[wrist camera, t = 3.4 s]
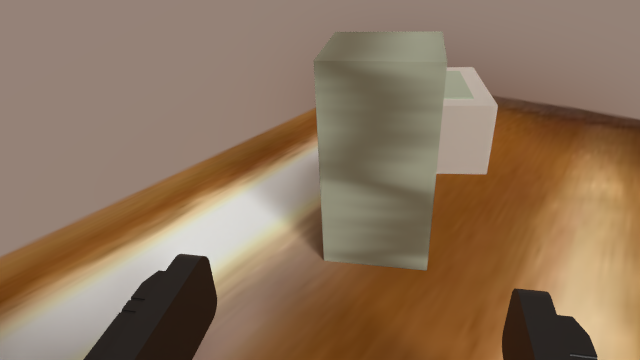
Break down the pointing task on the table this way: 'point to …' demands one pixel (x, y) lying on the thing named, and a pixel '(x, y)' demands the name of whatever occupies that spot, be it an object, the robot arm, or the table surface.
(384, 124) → the sage pillar
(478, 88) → the cream base block
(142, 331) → the robot arm
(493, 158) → the table surface
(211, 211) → the table surface
